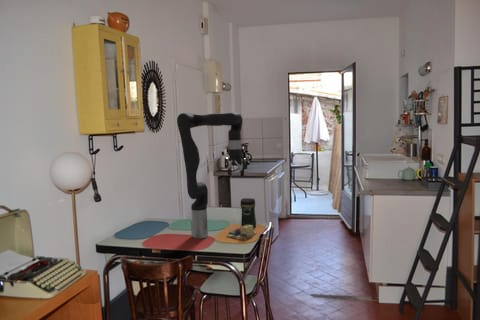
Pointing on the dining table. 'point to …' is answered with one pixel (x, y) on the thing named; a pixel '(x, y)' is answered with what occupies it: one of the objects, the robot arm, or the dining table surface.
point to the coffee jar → (248, 212)
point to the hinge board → (239, 234)
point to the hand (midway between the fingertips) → (236, 176)
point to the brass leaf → (246, 230)
